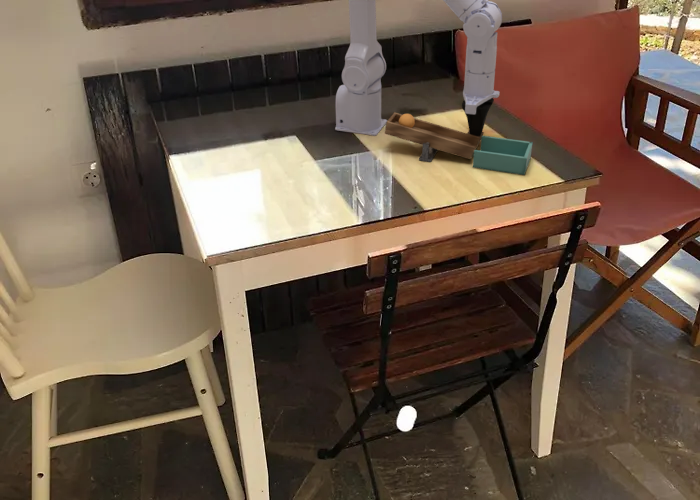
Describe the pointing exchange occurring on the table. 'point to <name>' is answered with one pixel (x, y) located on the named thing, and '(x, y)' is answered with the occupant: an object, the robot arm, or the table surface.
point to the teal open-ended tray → (503, 155)
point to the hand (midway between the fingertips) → (475, 134)
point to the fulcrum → (427, 153)
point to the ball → (407, 120)
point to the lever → (434, 136)
